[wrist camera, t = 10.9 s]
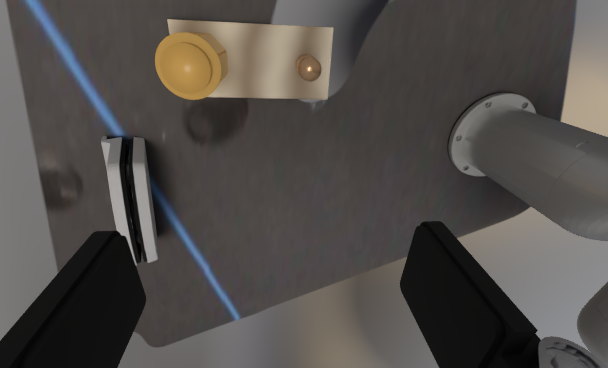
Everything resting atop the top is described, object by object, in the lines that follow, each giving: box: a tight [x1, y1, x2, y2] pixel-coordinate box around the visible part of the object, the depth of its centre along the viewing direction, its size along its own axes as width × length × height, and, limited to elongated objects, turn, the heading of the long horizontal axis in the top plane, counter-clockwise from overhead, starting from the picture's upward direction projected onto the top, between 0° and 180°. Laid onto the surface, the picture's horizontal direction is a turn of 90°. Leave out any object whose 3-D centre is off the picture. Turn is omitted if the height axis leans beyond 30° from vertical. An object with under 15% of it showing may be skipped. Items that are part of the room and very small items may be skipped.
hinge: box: [101, 136, 158, 265], centre depth 37 cm, size 17×5×10 cm, turn 172°
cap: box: [155, 32, 228, 100], centre depth 29 cm, size 6×6×7 cm
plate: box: [167, 19, 333, 99], centre depth 34 cm, size 18×8×1 cm, turn 88°
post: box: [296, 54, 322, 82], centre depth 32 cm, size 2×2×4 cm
